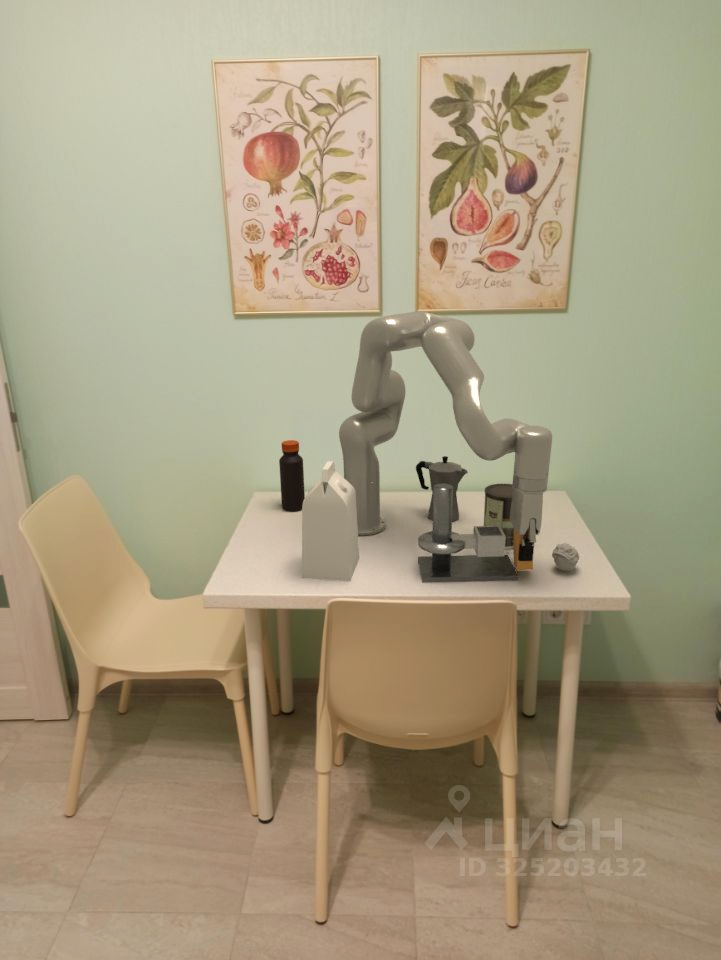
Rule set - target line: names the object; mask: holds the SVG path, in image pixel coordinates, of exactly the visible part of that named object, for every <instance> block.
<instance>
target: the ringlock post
mask: <svg viewBox="0 0 721 960" xmlns="http://www.w3.org/2000/svg"><path fill="white" fill-rule="evenodd" d="M452 505H453V486H452V485H449V484H436V485H434V487H433V521H432V530H431V531H426V532H423V533H422V534H421V535H419V536H418V538H417V545H418V547H419V548H420V549H421V551H422V550H423V551H424V552H427V553H430V554H431V555H429V556H428V555H427V556H426V555H425V556H424V555H423V556H417V565H418V568H419V572H420V573H419V575H420V578H421V582H422V583H458V582H462V583H463V582H499V581H500V582H501V581H505V582H507V581H519V574H518V572H517V569H516V567H515V565H514V563H513V562H512V560H511V558H510V556H509V554H505V552H506V551H505V550H506V549H505V539H506V536H505V534H504V532H503V531H502V529H501V527H500V526H484V525H473V533H465V534H464V533H463V534H461V533H459V532H458V533H457V532H455V531H452V530H453V529H452V528H453V523H452ZM463 550H474V552H475V554H473V555H472V554H471V555H467V554H466V555H465V554H464V555H453V554H456V553H459V552H461V551H463Z"/></svg>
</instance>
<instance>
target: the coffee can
mask: <svg viewBox="0 0 721 960" xmlns="http://www.w3.org/2000/svg"><path fill="white" fill-rule="evenodd" d="M512 484H513V483H493V484H490V485H488V486H485V488H484V511H483V526H500V527H501V529H502V531H503V532H504V534H505V536H506V539H505V550H512V549H513V550H514V527H513V525H512V523H511V521H510V510H511V503H512V496H513V490H514V489H513V488H512Z"/></svg>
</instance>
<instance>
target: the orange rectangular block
mask: <svg viewBox="0 0 721 960" xmlns="http://www.w3.org/2000/svg"><path fill="white" fill-rule="evenodd" d="M526 532H529V530H527V531H526ZM528 537H529V536H525V539H526V538H528ZM519 544H521V535H519V534H518V533H517V532H516V530H515V529H514V548H513V566H514V568H515V570H516V572H517V571H519V572H520V571H528V570H534V566H533V565H534V559H533V560H532V561H519V560H518V555H519Z"/></svg>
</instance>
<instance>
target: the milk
mask: <svg viewBox="0 0 721 960" xmlns="http://www.w3.org/2000/svg"><path fill="white" fill-rule="evenodd" d="M301 517H302V518H301V578H302V579H312V580H313V579H315V580H327V581H343V582H344V581H345V582H351V581H352V578H353V576H354V573H355V570H356V568H357V565H358V563H359V560H360V547H359V546H360V545H359V535H358V526H357V509H356V493H355V489H354V487H353V486H352V485H351V484H350V483H349V482H348V481H347V480H345V479H344V476H342V475H341V474H340V473H339V472H337V471H336V468H335V463H334V461H332V460H328V461H326V463H325V464H324V466H323V468H322V469H321V478H320V479H319V480H318V481H317V482H316V483H315V484H314V485H313V486H312V487H311V488H310V490H309V491H308V493H307V494H306V495H305V499H304V501H303V505H302V510H301Z"/></svg>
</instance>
